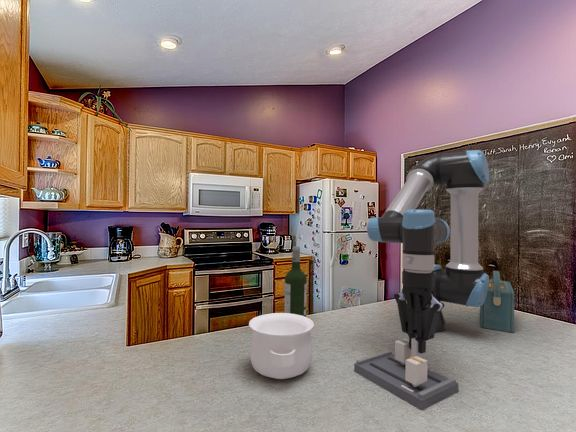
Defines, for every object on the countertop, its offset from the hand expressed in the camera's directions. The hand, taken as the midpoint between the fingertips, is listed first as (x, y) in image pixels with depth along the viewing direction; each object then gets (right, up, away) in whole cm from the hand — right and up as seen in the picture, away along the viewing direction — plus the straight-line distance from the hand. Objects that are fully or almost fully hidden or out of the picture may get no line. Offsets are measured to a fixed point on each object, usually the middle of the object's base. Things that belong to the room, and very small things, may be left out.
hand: (417, 364), depth 80 cm
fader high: (-2, -1, +3) cm, 4 cm away
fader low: (-3, -1, -8) cm, 9 cm away
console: (-4, -4, -1) cm, 5 cm away
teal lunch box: (+51, -5, +47) cm, 70 cm away
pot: (-35, -4, +4) cm, 35 cm away
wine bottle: (-30, -4, +35) cm, 46 cm away
